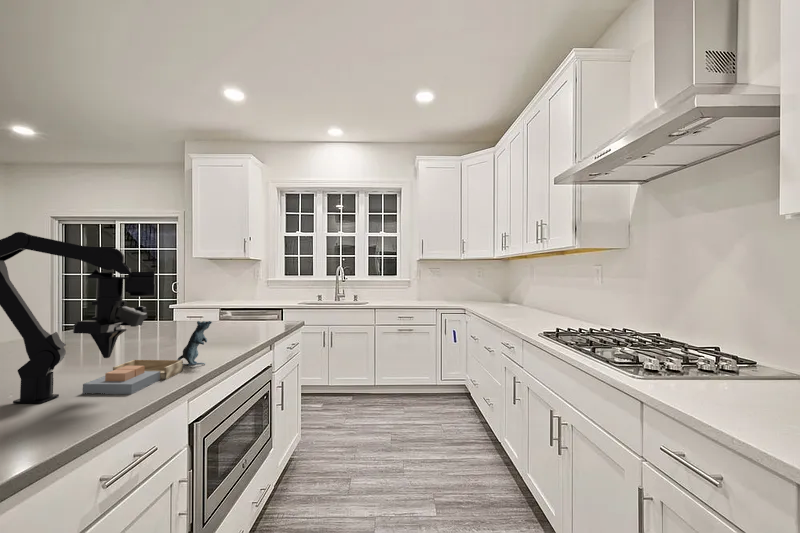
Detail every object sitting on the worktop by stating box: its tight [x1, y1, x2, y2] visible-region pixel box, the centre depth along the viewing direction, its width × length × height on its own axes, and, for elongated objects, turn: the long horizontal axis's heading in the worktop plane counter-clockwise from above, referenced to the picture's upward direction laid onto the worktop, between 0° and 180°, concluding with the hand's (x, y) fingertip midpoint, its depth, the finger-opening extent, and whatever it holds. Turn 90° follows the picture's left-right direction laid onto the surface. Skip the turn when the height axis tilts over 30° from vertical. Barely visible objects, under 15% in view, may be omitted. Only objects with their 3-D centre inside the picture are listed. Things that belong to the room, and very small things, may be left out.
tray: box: [112, 359, 184, 381], centre depth 138 cm, size 12×15×4 cm
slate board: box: [82, 371, 160, 395], centre depth 124 cm, size 16×12×2 cm
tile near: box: [104, 369, 135, 381], centre depth 122 cm, size 5×5×2 cm
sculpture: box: [176, 320, 213, 367], centre depth 156 cm, size 8×11×15 cm
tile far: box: [117, 366, 145, 377], centre depth 128 cm, size 5×5×2 cm
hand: (106, 357), depth 116 cm, fingers closed
